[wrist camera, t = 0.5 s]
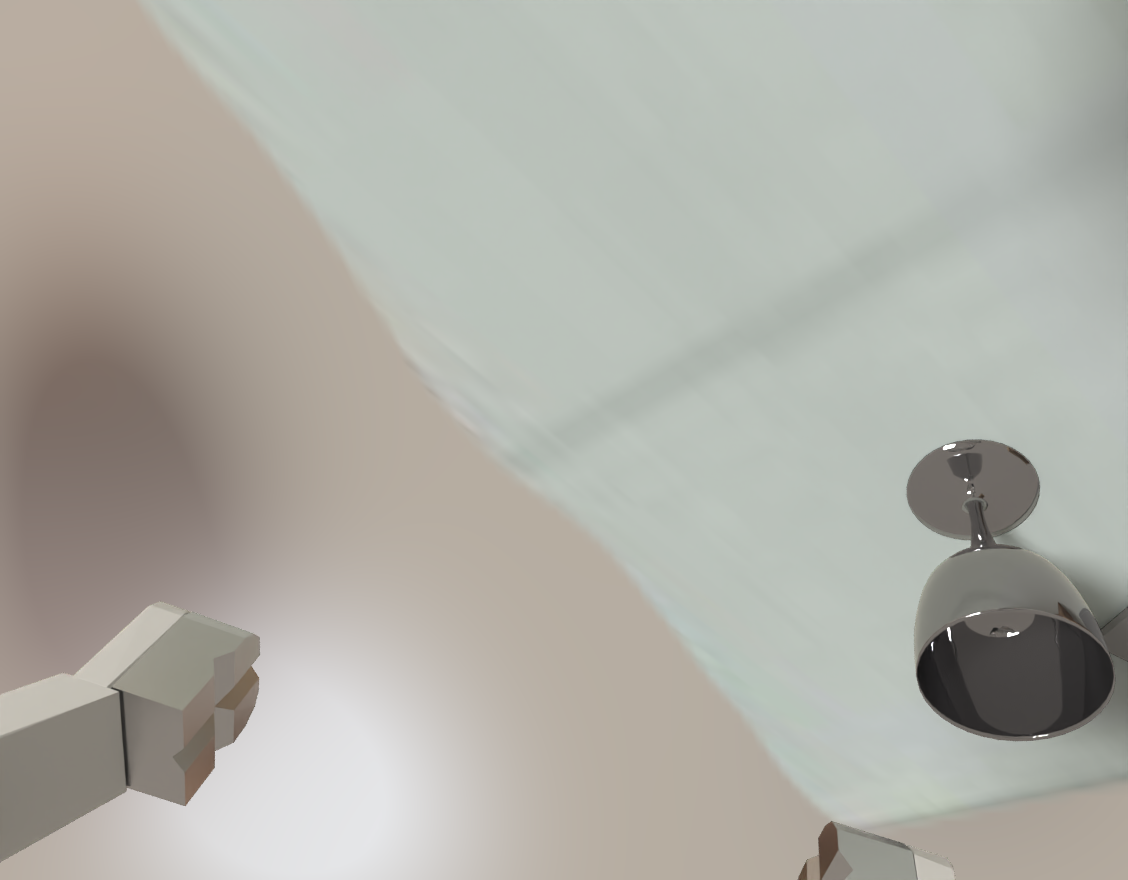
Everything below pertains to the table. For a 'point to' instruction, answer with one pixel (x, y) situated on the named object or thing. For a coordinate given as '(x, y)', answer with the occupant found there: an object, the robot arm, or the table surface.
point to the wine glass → (1000, 607)
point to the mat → (1117, 635)
